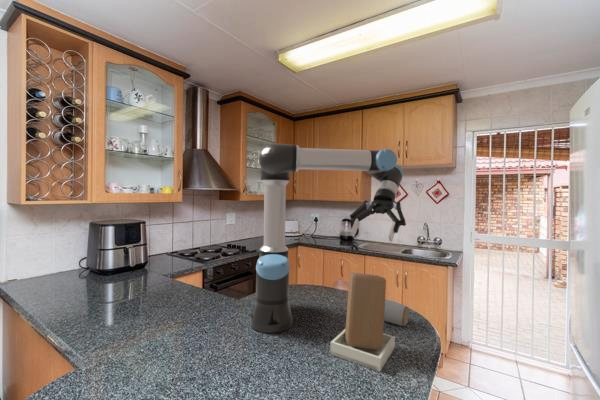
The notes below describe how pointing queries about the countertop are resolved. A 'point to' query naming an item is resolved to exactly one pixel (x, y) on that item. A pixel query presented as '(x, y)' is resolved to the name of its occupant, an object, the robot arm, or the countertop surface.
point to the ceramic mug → (396, 313)
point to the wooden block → (365, 311)
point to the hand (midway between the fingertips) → (370, 236)
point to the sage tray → (363, 352)
